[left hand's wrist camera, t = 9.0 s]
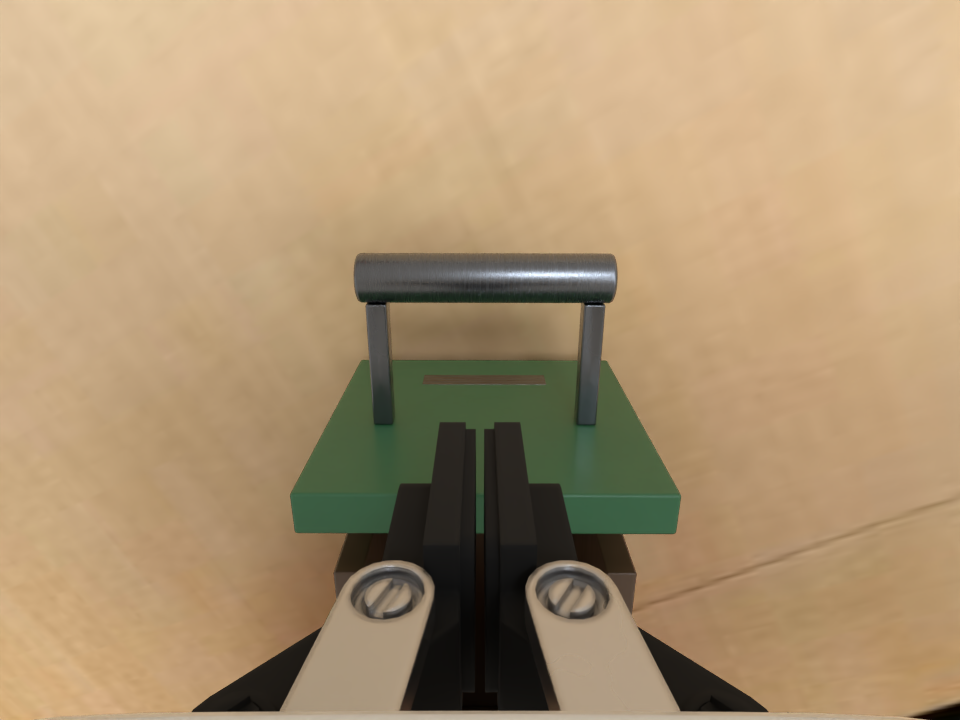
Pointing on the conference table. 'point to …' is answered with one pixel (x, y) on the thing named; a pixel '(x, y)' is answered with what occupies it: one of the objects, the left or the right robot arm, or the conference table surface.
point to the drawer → (487, 420)
